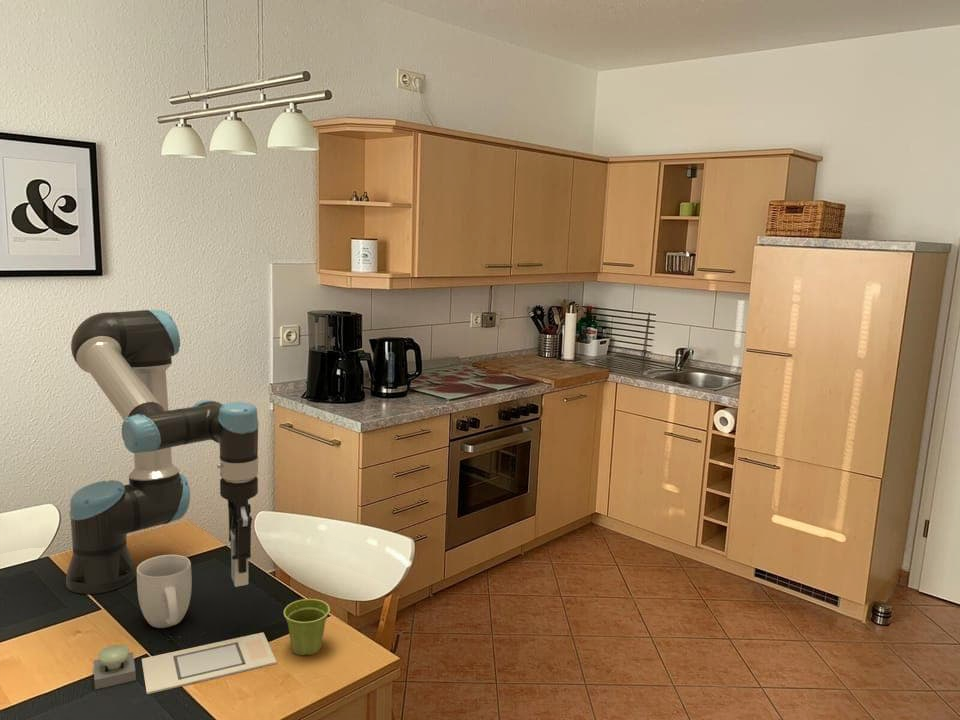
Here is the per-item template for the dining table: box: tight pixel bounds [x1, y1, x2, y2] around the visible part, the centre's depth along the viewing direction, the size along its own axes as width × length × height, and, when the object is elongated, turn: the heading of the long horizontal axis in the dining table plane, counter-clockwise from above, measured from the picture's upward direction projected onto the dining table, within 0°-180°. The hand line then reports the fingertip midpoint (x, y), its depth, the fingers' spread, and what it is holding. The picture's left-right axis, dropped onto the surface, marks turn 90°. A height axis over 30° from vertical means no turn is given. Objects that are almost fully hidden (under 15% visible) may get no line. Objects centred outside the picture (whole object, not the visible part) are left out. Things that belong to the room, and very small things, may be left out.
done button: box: [98, 644, 130, 671], centre depth 144 cm, size 5×5×4 cm
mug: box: [136, 554, 193, 629], centre depth 162 cm, size 15×11×13 cm
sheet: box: [141, 631, 278, 695], centre depth 150 cm, size 12×24×1 cm, turn 118°
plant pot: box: [283, 598, 331, 656], centre depth 155 cm, size 9×9×9 cm
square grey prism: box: [230, 529, 236, 586], centre depth 158 cm, size 3×3×12 cm
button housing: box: [93, 651, 137, 691], centre depth 144 cm, size 7×7×2 cm
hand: (239, 580), depth 160 cm, fingers closed on square grey prism, 3 cm apart
